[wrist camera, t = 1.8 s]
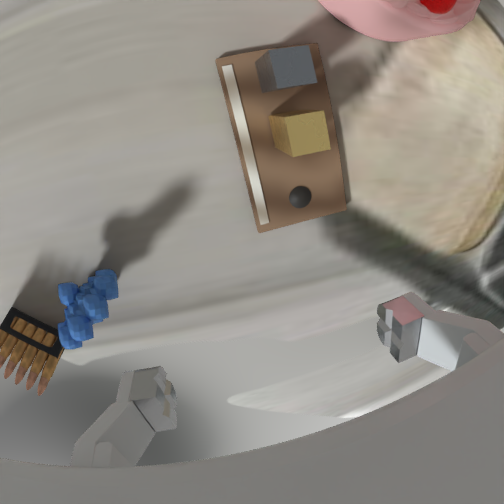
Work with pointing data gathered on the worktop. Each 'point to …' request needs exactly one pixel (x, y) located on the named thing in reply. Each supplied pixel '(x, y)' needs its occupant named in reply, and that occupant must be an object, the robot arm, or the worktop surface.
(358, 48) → the worktop surface
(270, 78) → the grey rectangular block
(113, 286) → the grapes
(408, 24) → the cake
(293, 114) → the wooden block
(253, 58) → the brown flat rectangular board
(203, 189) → the worktop surface
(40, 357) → the ammunition clip
